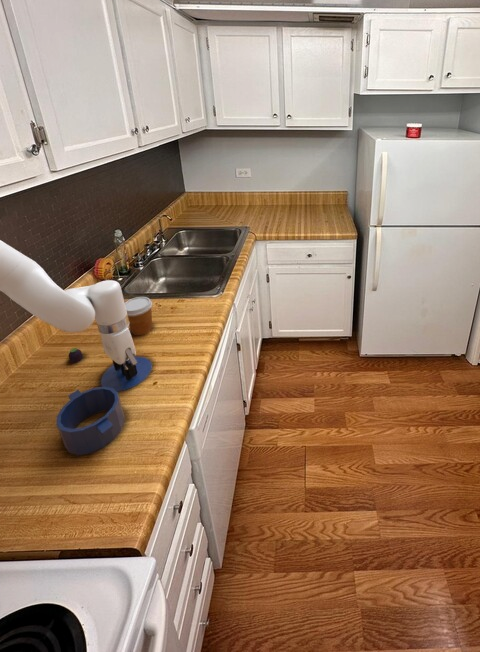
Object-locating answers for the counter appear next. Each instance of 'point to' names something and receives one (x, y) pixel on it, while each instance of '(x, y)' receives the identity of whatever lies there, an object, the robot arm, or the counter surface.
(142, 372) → the lid
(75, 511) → the counter surface
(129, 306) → the disposable coffee cup
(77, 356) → the blackberry
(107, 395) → the pot
